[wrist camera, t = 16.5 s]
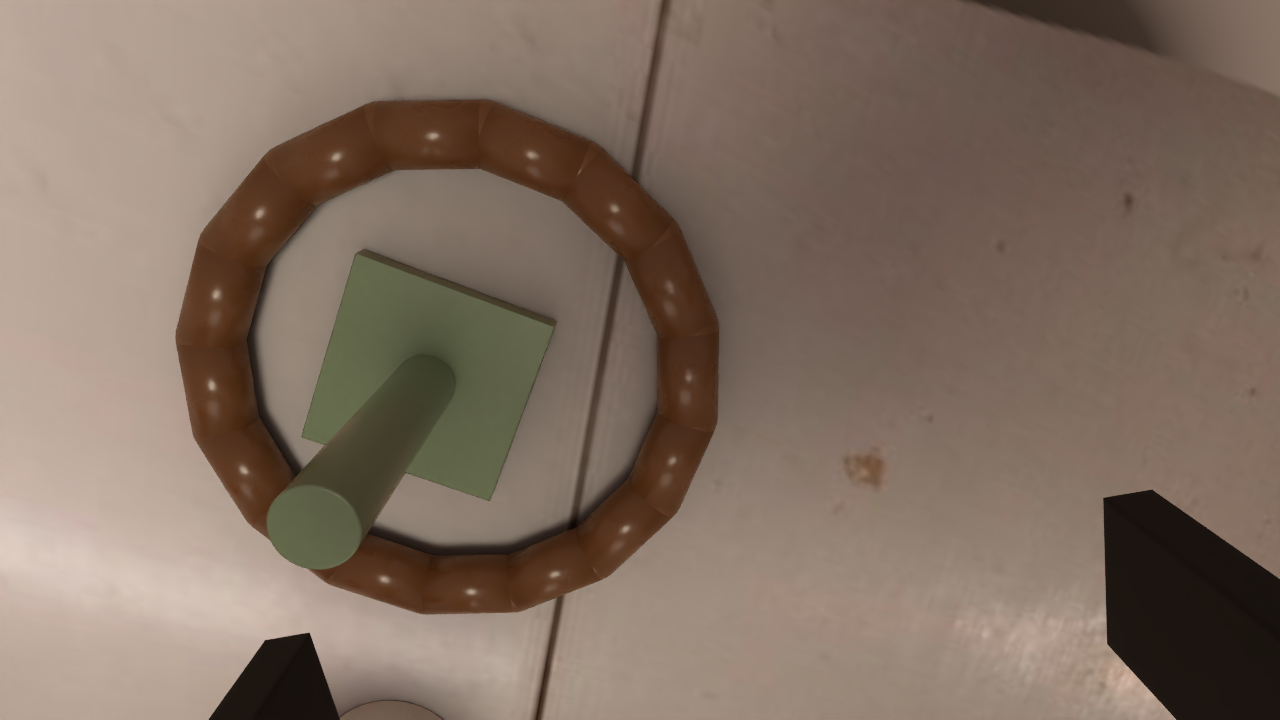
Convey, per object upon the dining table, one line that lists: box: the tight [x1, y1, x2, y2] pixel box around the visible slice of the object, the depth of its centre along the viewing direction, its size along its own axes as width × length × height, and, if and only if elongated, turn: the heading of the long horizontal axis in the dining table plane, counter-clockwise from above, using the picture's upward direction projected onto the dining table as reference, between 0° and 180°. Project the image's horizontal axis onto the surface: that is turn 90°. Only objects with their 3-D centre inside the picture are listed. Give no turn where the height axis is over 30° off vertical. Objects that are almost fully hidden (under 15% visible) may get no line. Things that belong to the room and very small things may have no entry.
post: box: [267, 250, 556, 570], centre depth 27 cm, size 8×8×13 cm
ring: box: [176, 100, 719, 614], centre depth 32 cm, size 21×21×2 cm
